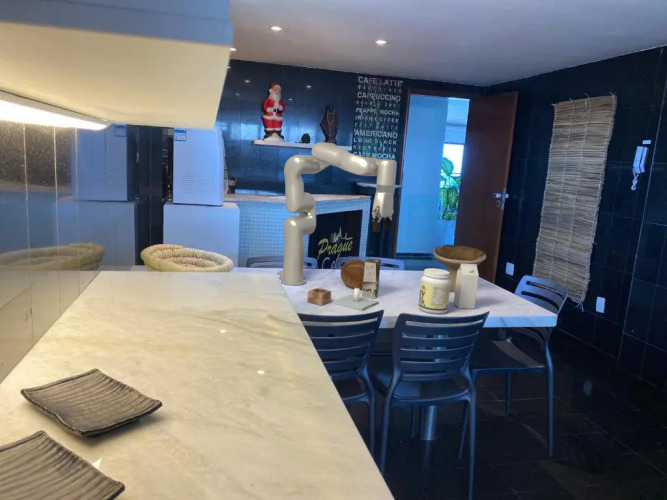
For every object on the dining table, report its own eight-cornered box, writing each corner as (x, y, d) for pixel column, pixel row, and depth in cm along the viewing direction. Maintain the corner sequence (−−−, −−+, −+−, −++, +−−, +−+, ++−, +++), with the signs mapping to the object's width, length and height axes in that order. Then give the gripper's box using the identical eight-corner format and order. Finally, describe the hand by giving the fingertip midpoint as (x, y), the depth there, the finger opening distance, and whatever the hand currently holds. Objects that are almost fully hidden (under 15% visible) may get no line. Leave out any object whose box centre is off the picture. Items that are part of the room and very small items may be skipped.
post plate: (333, 303, 210) (334, 288, 209) (350, 296, 222) (351, 282, 220) (361, 311, 203) (363, 295, 201) (378, 303, 214) (379, 289, 213)
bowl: (419, 286, 250) (423, 246, 246) (445, 279, 268) (449, 242, 264) (465, 298, 233) (471, 256, 229) (490, 290, 251) (495, 251, 247)
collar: (307, 302, 209) (308, 290, 208) (317, 299, 215) (317, 287, 214) (321, 306, 205) (322, 294, 204) (330, 302, 211) (331, 291, 210)
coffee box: (376, 298, 221) (379, 263, 218) (361, 297, 223) (364, 261, 220) (378, 293, 230) (381, 259, 227) (364, 292, 231) (367, 257, 228)
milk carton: (453, 303, 223) (458, 261, 219) (468, 304, 224) (473, 262, 220) (458, 308, 216) (463, 265, 212) (474, 309, 217) (479, 266, 213)
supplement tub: (415, 305, 216) (419, 266, 213) (443, 306, 217) (447, 268, 214) (421, 314, 204) (425, 273, 201) (450, 315, 205) (455, 275, 202)
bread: (344, 290, 232) (345, 266, 230) (337, 275, 261) (339, 253, 259) (377, 292, 234) (379, 268, 232) (367, 276, 262) (369, 255, 260)
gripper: (386, 188, 216) (383, 227, 219) (367, 189, 202) (363, 231, 205) (402, 190, 212) (398, 230, 215) (383, 191, 198) (379, 233, 201)
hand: (381, 230), depth 210 cm, fingers open, 9 cm apart
